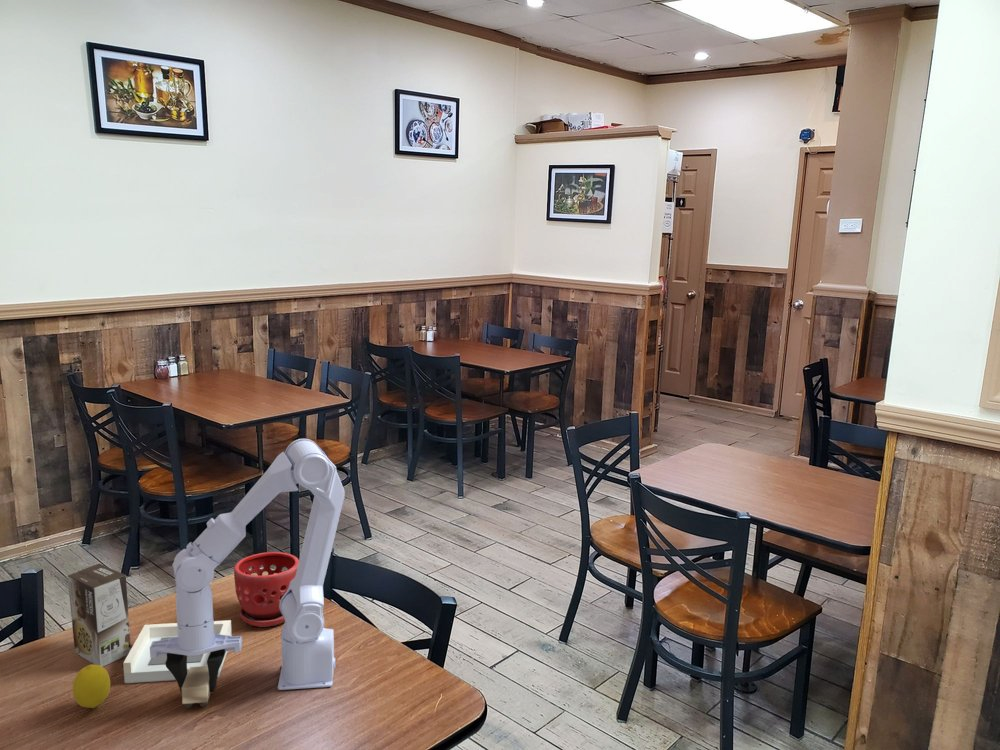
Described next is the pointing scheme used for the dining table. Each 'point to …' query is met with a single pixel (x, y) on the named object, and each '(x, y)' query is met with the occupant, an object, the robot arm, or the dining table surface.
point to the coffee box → (99, 614)
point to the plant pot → (263, 586)
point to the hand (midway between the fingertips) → (198, 690)
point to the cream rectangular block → (196, 687)
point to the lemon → (91, 686)
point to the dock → (154, 669)
